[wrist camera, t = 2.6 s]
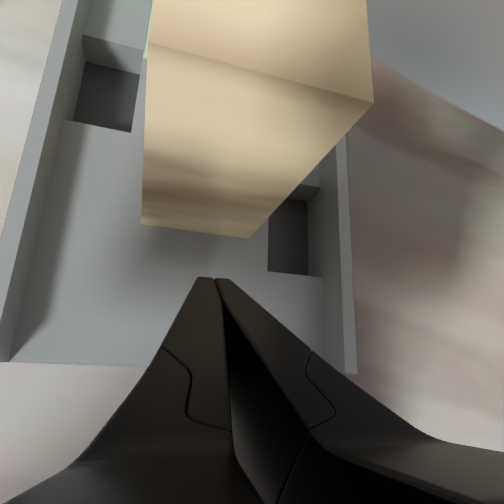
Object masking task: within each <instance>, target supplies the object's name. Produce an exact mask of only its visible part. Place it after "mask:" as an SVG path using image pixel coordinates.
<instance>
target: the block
mask: <svg viewBox="0 0 504 504" xmlns="http://www.w3.org/2000/svg"><path fill="white" fill-rule="evenodd" d="M373 104H374V95H373V82H372V70H371V58H370V45H369V33H368V20H367V9H366V0H154V5H153V12H152V18H151V24H150V31H149V37H148V50H147V75H146V101H145V127H144V153H143V178H142V204H141V224H143V225H150V226H157V227H165V228H172V229H179V230H187V231H194V232H201V233H209V234H216V235H223V236H231V237H238V238H245V239H249V238H250V237H251V236H252V235H253V233H254V232H255V231H256V230H257V229H258V228H259V227H260V226H261V225H262V224H263V223H264V222H265V221H266V219H267V218H268V217H269V216H270V215H271V214H272V213H273V212H274V211H275V210H276V209H277V208H278V206H279V205H280V204H281V203H282V202H283V201H284V200H285V199H286V198H287V197H288V196H289V195H290V193H291V192H292V191H293V190H294V189H295V188H296V187H297V186H298V185H299V184H300V183H301V182H302V180H303V179H304V178H305V177H306V176H307V175H308V174H309V173H310V172H311V171H312V170H313V169H314V168H315V166H316V165H317V164H318V163H319V162H320V161H321V160H322V159H323V158H324V157H325V156H326V155H327V153H328V152H329V151H330V150H331V149H332V148H333V147H334V146H335V145H336V144H337V143H338V142H339V140H340V139H341V138H342V137H343V136H344V135H345V134H346V133H347V132H348V131H349V130H350V129H351V127H352V126H353V125H354V124H355V123H356V122H357V121H358V120H359V119H360V118H361V117H362V116H363V115H364V113H365V112H366V111H367V110H368V109H369V108H370V107H371V106H372V105H373Z"/></svg>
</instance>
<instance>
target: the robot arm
mask: <svg viewBox="0 0 504 504" xmlns="http://www.w3.org/2000/svg"><path fill="white" fill-rule="evenodd" d="M4 504H504V452H499V451H493V450H488V449H482V448H477V447H471V446H465V445H460V444H454V443H449V442H446V441H442V440H439V439H436V438H434V437H432V436H429V435H427V434H425V433H423V432H422V431H420V430H418V429H416V428H415V427H413V426H412V425H410V424H409V423H408V422H406V421H405V420H403V419H402V418H401V417H399V416H398V415H397V414H395V413H394V412H392V411H391V410H390V409H388V408H387V407H386V406H384V405H383V404H381V403H380V402H379V401H377V400H376V399H375V398H373V397H372V396H370V395H369V394H368V393H366V392H365V391H364V390H362V389H361V388H359V387H358V386H357V385H355V384H354V383H353V382H352V381H350V380H349V379H348V378H346V377H345V376H344V375H342V374H341V373H340V372H338V371H337V370H336V369H335V368H334V367H332V366H331V365H330V364H329V363H327V362H326V361H325V360H324V359H323V358H322V357H320V356H319V355H318V354H317V353H316V352H315V351H312V350H311V348H310V347H309V346H307V345H306V344H305V343H304V342H303V341H302V340H300V339H299V338H298V337H297V336H296V335H295V334H293V333H292V332H291V331H290V330H289V329H288V328H286V327H285V326H284V325H283V324H282V323H281V322H279V321H278V320H277V319H276V318H275V317H274V316H272V315H271V314H270V313H269V312H268V311H267V310H265V309H264V308H263V307H262V306H261V305H260V304H258V303H257V302H256V301H255V300H254V299H253V298H251V297H250V296H249V295H248V294H247V293H246V292H244V291H243V290H242V289H241V288H240V287H239V286H237V285H236V284H235V283H234V282H233V281H232V280H230V279H228V278H215V279H213V278H212V277H201V276H199V277H197V278H196V280H195V282H194V284H193V286H192V288H191V289H190V291H189V293H188V295H187V297H186V299H185V301H184V302H183V304H182V306H181V308H180V310H179V312H178V314H177V315H176V317H175V319H174V321H173V323H172V325H171V327H170V328H169V330H168V332H167V334H166V336H165V338H164V340H163V341H162V343H161V345H160V347H159V349H158V350H157V352H156V354H155V356H154V358H153V359H152V361H151V363H150V364H149V366H148V368H147V369H146V371H145V373H144V374H143V376H142V377H141V379H140V380H139V381H138V383H137V384H136V386H135V387H134V388H133V390H132V391H131V393H130V394H129V395H128V396H127V398H126V399H125V400H124V402H123V403H122V404H121V405H120V407H119V408H118V409H117V410H116V412H115V413H114V414H113V416H112V417H111V418H110V419H109V421H108V422H107V423H106V425H105V426H104V427H103V428H102V430H101V431H100V432H99V433H98V435H97V436H96V437H95V439H94V440H93V441H92V442H91V443H90V445H89V446H88V447H87V448H86V450H85V451H84V452H83V453H82V454H81V455H80V456H79V457H78V458H77V459H76V460H75V461H74V462H73V463H72V464H70V465H69V466H68V467H67V468H65V469H64V470H62V471H61V472H59V473H57V474H55V475H53V476H52V477H50V478H48V479H46V480H45V481H43V482H41V483H39V484H37V485H36V486H34V487H32V488H30V489H29V490H27V491H25V492H23V493H21V494H20V495H18V496H16V497H14V498H12V499H11V500H9V501H7V502H5V503H4Z"/></svg>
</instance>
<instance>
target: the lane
mask: <svg viewBox="0 0 504 504" xmlns="http://www.w3.org/2000/svg"><path fill="white" fill-rule="evenodd" d="M153 5H154V0H62V4H61V7H60V11H59V15H58V19H57V23H56V27H55V31H54V34H53V38H52V42H51V46H50V50H49V54H48V57H47V61H46V65H45V69H44V73H43V77H42V81H41V84H40V88H39V92H38V96H37V100H36V104H35V107H34V111H33V115H32V119H31V123H30V127H29V131H28V134H27V138H26V142H25V146H24V150H23V154H22V157H21V161H20V165H19V169H18V173H17V177H16V181H15V184H14V188H13V192H12V196H11V200H10V204H9V207H8V211H7V215H6V219H5V223H4V227H3V231H2V234H1V238H0V362H23V363H53V364H83V365H113V366H143V367H148V366H149V364H150V363H151V361H152V359H153V358H154V356H155V354H156V352H157V350H158V349H159V347H160V345H161V343H162V341H163V340H164V338H165V336H166V334H167V332H168V330H169V328H170V327H171V325H172V323H173V321H174V319H175V317H176V315H177V314H178V312H179V310H180V308H181V306H182V304H183V302H184V301H185V299H186V297H187V295H188V293H189V291H190V289H191V288H192V286H193V284H194V282H195V280H196V278H197V277H199V276H201V277H212V278H213V279H215V278H228V279H230V280H232V281H233V282H234V283H235V284H236V285H237V286H239V287H240V288H241V289H242V290H243V291H244V292H246V293H247V294H248V295H249V296H250V297H251V298H253V299H254V300H255V301H256V302H257V303H258V304H260V305H261V306H262V307H263V308H264V309H265V310H267V311H268V312H269V313H270V314H271V315H272V316H274V317H275V318H276V319H277V320H278V321H279V322H281V323H282V324H283V325H284V326H285V327H286V328H288V329H289V330H290V331H291V332H292V333H293V334H295V335H296V336H297V337H298V338H299V339H300V340H302V341H303V342H304V343H305V344H306V345H307V346H309V347H310V348H311V350H312V351H315V352H316V353H317V354H318V355H319V356H320V357H322V358H323V359H324V360H325V361H326V362H327V363H329V364H330V365H331V366H332V367H334V368H335V369H336V370H337V371H338V372H340V373H341V374H358V368H357V348H356V329H355V309H354V289H353V269H352V249H351V229H350V210H349V190H348V170H347V150H346V134H345V135H344V136H343V137H342V138H341V139H340V140H339V142H338V143H337V144H336V145H335V146H334V147H333V148H332V149H331V150H330V151H329V152H328V153H327V155H326V156H325V157H324V158H323V159H322V160H321V161H320V162H319V163H318V164H317V165H316V166H315V168H314V169H313V170H312V171H311V172H310V173H309V174H308V175H307V176H306V177H305V178H304V179H303V180H302V182H301V183H300V184H299V185H298V186H297V187H296V188H295V189H294V190H293V191H292V192H291V193H290V195H289V196H288V197H287V198H286V199H285V200H284V201H283V202H282V203H281V204H280V205H279V206H278V208H277V209H276V210H275V211H274V212H273V213H272V214H271V215H270V216H269V217H268V218H267V219H266V221H265V222H264V223H263V224H262V225H261V226H260V227H259V228H258V229H257V230H256V231H255V232H254V233H253V235H252V236H251V237H250V238H249V239H245V238H238V237H231V236H223V235H216V234H209V233H201V232H194V231H187V230H179V229H172V228H165V227H157V226H150V225H143V224H141V204H142V178H143V153H144V127H145V101H146V75H147V50H148V37H149V31H150V24H151V18H152V12H153Z"/></svg>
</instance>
